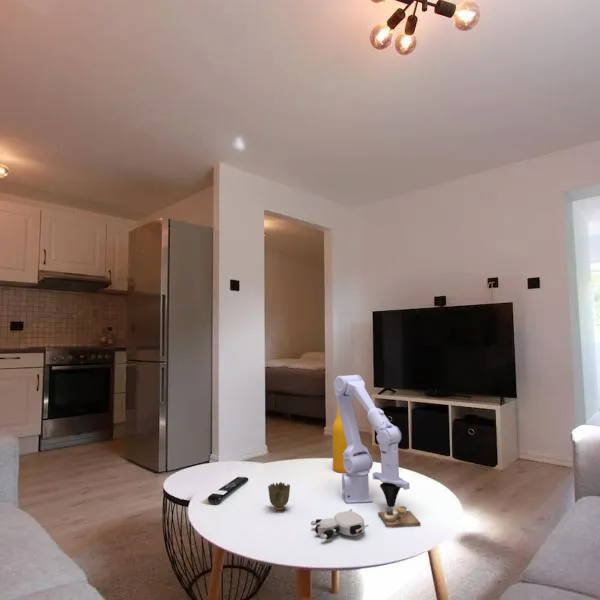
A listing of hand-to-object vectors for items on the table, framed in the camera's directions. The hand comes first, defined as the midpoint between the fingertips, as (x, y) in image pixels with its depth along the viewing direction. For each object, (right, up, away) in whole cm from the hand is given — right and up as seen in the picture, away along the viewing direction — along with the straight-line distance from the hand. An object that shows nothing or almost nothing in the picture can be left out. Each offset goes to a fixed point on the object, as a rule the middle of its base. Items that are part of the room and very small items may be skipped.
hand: (391, 506), depth 141 cm
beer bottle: (-11, -7, +47) cm, 49 cm away
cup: (-37, -3, +3) cm, 38 cm away
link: (0, 0, -7) cm, 7 cm away
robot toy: (-19, -1, -15) cm, 24 cm away
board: (+1, -1, -7) cm, 7 cm away
